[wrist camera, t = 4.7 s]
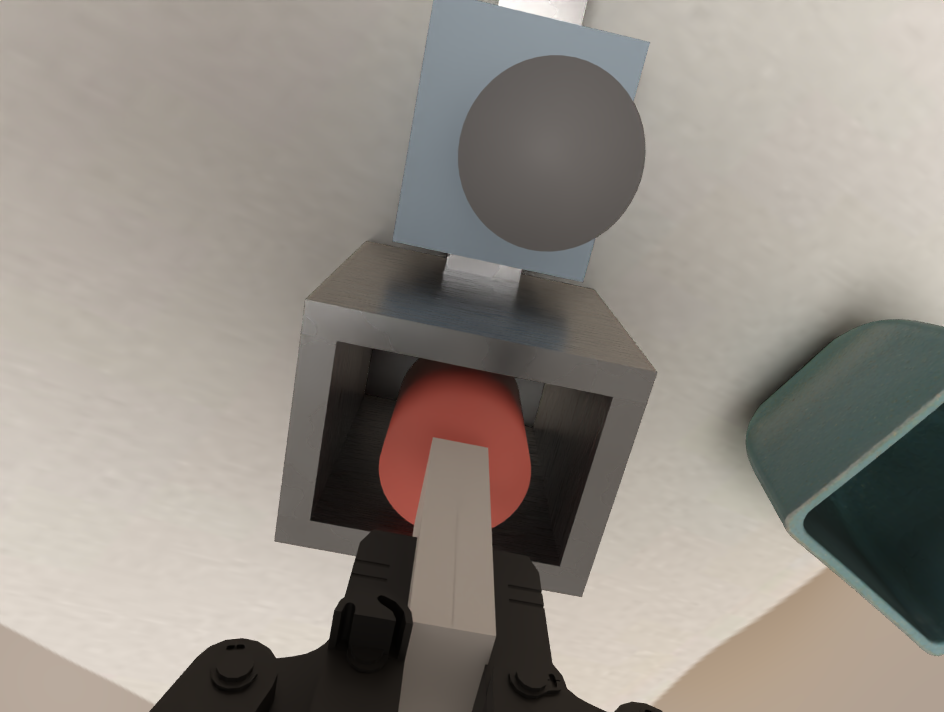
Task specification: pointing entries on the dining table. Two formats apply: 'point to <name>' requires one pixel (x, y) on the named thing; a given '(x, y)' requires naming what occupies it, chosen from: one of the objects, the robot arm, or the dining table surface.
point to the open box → (474, 346)
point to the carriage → (521, 138)
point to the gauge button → (455, 433)
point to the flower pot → (866, 467)
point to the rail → (556, 3)
